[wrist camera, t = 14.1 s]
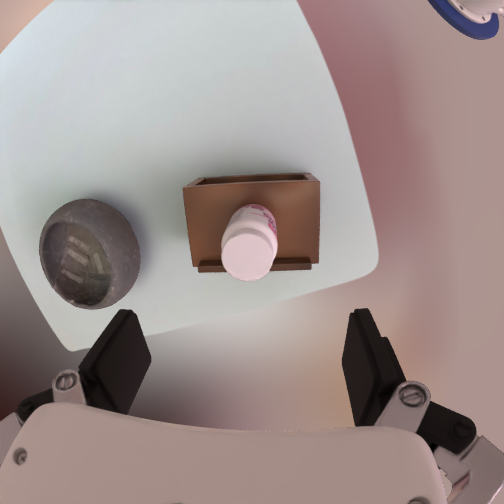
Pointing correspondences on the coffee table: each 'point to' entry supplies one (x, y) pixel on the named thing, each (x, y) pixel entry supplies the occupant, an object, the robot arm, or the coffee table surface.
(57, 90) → the coffee table surface
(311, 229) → the shelf
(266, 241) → the pill bottle
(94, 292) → the bowl
